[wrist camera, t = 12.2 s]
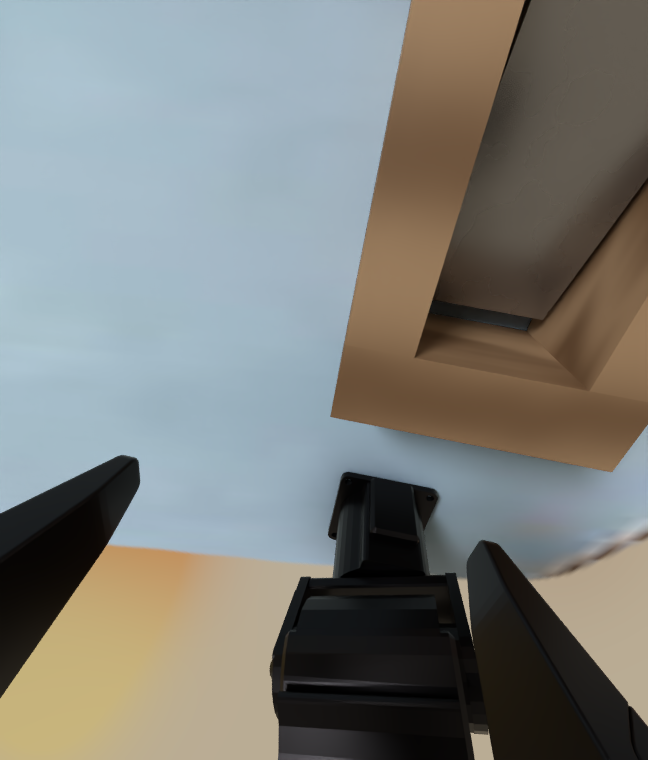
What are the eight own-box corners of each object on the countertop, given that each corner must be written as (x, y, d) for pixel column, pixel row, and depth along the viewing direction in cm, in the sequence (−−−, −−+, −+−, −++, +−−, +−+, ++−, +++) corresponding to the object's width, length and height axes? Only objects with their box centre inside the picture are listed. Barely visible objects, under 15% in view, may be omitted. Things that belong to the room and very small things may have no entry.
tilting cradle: (539, 311, 17) (542, 319, 16) (420, 289, 17) (419, 297, 16) (789, -40, 8) (807, -40, 8) (553, -75, 9) (559, -77, 8)
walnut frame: (547, 394, 20) (612, 472, 14) (341, 355, 20) (330, 416, 15) (845, -151, 10) (1335, -497, 5) (451, -206, 11) (527, -582, 5)
